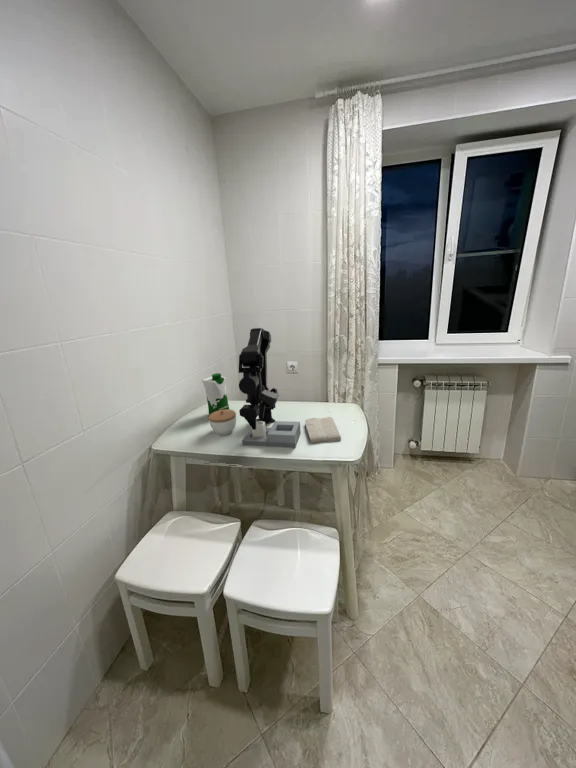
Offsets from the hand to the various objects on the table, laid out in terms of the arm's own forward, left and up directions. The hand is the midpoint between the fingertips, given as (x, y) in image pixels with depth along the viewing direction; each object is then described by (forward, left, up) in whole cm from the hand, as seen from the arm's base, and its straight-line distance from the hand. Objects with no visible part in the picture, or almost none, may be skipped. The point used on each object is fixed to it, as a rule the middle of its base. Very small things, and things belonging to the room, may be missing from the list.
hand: (258, 423), depth 111 cm
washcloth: (+8, +23, -7) cm, 25 cm away
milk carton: (-33, -7, -7) cm, 35 cm away
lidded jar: (-14, -10, -7) cm, 19 cm away
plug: (0, 0, -6) cm, 6 cm away
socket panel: (+3, +4, -6) cm, 8 cm away
